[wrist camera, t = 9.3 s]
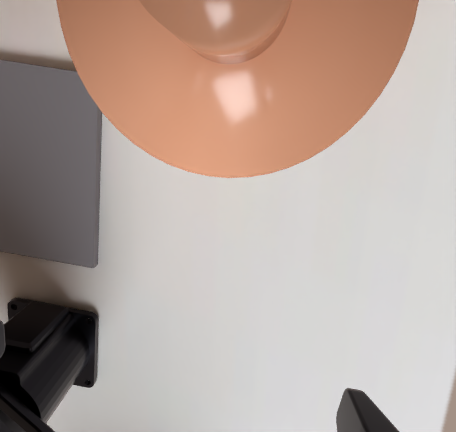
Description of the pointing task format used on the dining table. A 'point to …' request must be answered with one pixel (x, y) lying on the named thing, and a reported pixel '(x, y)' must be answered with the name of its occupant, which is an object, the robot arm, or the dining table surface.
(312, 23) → the lid
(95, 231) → the mat
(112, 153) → the dining table surface
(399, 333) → the dining table surface
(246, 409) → the dining table surface
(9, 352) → the robot arm
